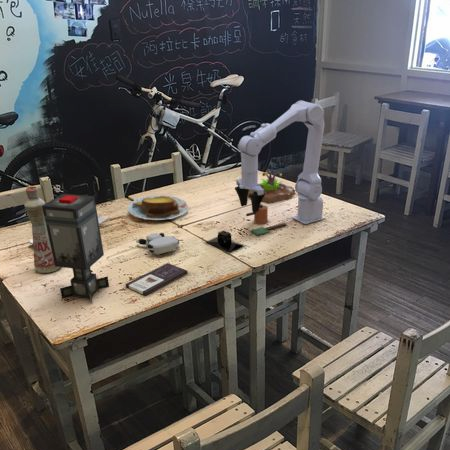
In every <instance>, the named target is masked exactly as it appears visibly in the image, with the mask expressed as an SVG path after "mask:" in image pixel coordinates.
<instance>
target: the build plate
mask: <svg viewBox="0 0 450 450" xmlns="http://www.w3.org/2000/svg"><path fill="white" fill-rule="evenodd" d="M205 243H206V244H208V245H210V246H213V247H215V248H217V249H219V250H222V251H224V252H226V253H233V252H235V251H237V250H239V249H242V248H244V246H245V245H244V244H241V243H238V242H236V241H233V240H232V232H229V231H226V230H221V231H219V232H217V236H216V237H214V238H212V239H210V240H209V239H208V240H207V241H206V242H205Z"/></svg>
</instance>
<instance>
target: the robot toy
mask: <svg viewBox="0 0 450 450" xmlns="http://www.w3.org/2000/svg"><path fill="white" fill-rule="evenodd" d="M180 242H184V239H179V238H177V237H174V236H172V235H165V233H164V232H160V233H158V232H153V233H150V234H147V235H146V236H145V238H139V239H137V240H135V243H137V244H139V245H142V246H145V245H146V247H147V248H146V250H147V251H149V252H151V253H153V254H155V255H161V254H165V253H169V252H171V251H174V250H176V249H177V248H179V246H180Z"/></svg>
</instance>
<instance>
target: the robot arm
mask: <svg viewBox="0 0 450 450" xmlns="http://www.w3.org/2000/svg"><path fill="white" fill-rule="evenodd" d="M324 115H325V110H324V108H323V107H322V106H321V105H320V104H319V103H313V102H309V101H305V100H303V99H302V100H301V99H300V100H298V101H296V102H295V103H293V104H292V105H291V106H290V108H289V109H287V110H286V111H285V112H284V113H283V114H282V115H280V116H279V117H278V118H277V119H275V120H274V121H273V122H271V123H268V122H266V123H262V124H261V125H260V127H259V128H257V129H256V130H255V131H252V132H250V134H249V135H244V136H242V137H241V138H240V140H239V142H238V144H237V150H238V151H239V152H240V165H241V166H240V167H241V168H240V169H241V172H240V174H241V175H240V176H241V178H237V179H236V180H235V183H236V186H235V187H234V191H235V192H236V194H237V196H238V199H239V204H240V206H241V207H245V206H247V205H248V198H249V197H248V192H249V190H251V191H253V192H254V193H252V194H249V196H250V198H249V199H250V202H251V210H252V211H251V212H253V213H255V212H258V211H259V207H260V204H261V203H262V202H263V201H262V199H263V197H264V196H265V193H264V189H263V188H261V187H260V185H259V184H260V183H258V181H259V178H258V177H259V175H258V174H259V171H258V169H259V159H258V158H259V154H260V153H261V151H262V148H263V147H265V146H266V145H267V144H269V143H270V142H271V141H273V140H274V139H275V138H276V137H277V133H278V132H280V131H281V130H283V129H285V128H286V127H288V126H290V125H291V124H293V123H295V122H302V123H303V124H304V125H305V126H306V127H307V129H308V130H307V131H308V132H307V138H306V145H305V146H306V147H305V152H304V153H305V155H304V161H303V168H302V172H300V174H298V176H297V180H296V182H295V184H294V189H295V193H297V197H298V200H297V215H295V216H292V219H293V220H296V222H299V223H301V224H303V225H307V224H310V223H315V222H319V221H322V220H324V217H323V211H324V201H323V198H322V197H321V195H322V192H323V187H322V178H321V177H320V175H319V165H320V159H321V153H322V148H323V147H322V146H323V145H322V144H323V139H324V132H325V125H326V124H325V118H324Z"/></svg>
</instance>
